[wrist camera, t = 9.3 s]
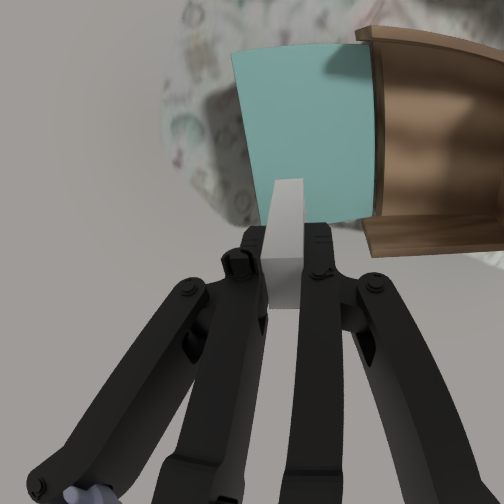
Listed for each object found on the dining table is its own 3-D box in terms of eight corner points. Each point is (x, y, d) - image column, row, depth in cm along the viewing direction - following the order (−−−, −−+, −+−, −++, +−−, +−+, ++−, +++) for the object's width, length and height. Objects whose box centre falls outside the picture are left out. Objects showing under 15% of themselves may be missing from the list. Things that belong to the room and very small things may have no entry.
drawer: (348, 33, 21) (398, 16, 10) (502, 59, 17) (592, 88, 6) (357, 210, 34) (383, 304, 22) (487, 209, 30) (542, 285, 18)
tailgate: (356, 45, 21) (230, 54, 22) (368, 44, 19) (230, 52, 19) (362, 204, 32) (260, 221, 32) (372, 216, 30) (262, 234, 30)
